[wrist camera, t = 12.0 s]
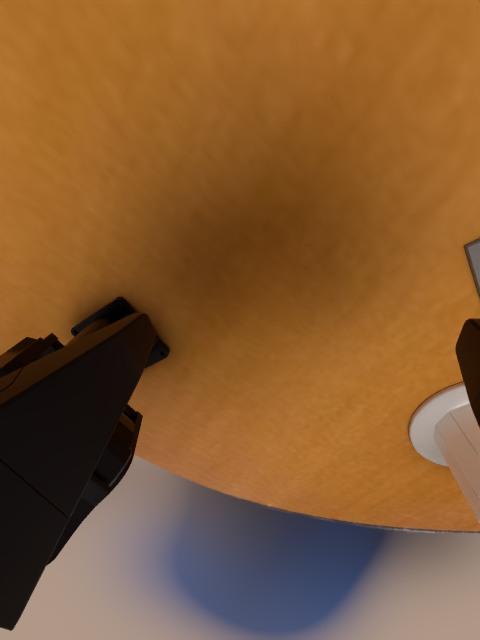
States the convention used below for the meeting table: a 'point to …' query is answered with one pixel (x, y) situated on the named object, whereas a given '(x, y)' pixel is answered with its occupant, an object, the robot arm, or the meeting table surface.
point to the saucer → (434, 420)
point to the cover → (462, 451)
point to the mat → (474, 260)
